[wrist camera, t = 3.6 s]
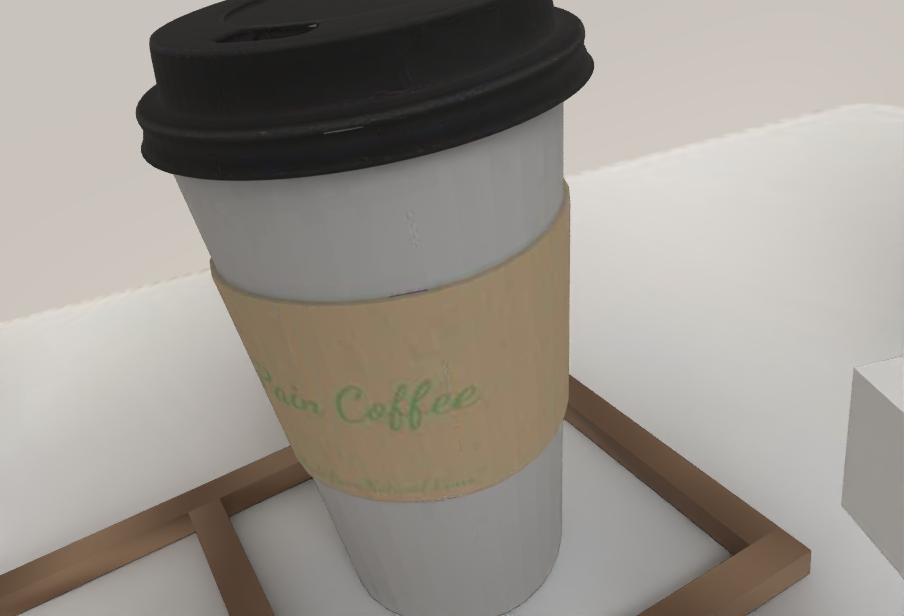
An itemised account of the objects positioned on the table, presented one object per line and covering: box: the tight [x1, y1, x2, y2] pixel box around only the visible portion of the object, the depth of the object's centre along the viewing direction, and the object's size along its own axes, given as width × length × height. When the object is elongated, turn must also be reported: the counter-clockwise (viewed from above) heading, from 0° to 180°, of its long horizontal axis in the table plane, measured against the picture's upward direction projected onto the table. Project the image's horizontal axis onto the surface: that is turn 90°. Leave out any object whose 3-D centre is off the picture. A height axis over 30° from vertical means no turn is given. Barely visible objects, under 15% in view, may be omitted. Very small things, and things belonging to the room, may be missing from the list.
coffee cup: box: [136, 0, 594, 616], centre depth 20 cm, size 9×9×15 cm
